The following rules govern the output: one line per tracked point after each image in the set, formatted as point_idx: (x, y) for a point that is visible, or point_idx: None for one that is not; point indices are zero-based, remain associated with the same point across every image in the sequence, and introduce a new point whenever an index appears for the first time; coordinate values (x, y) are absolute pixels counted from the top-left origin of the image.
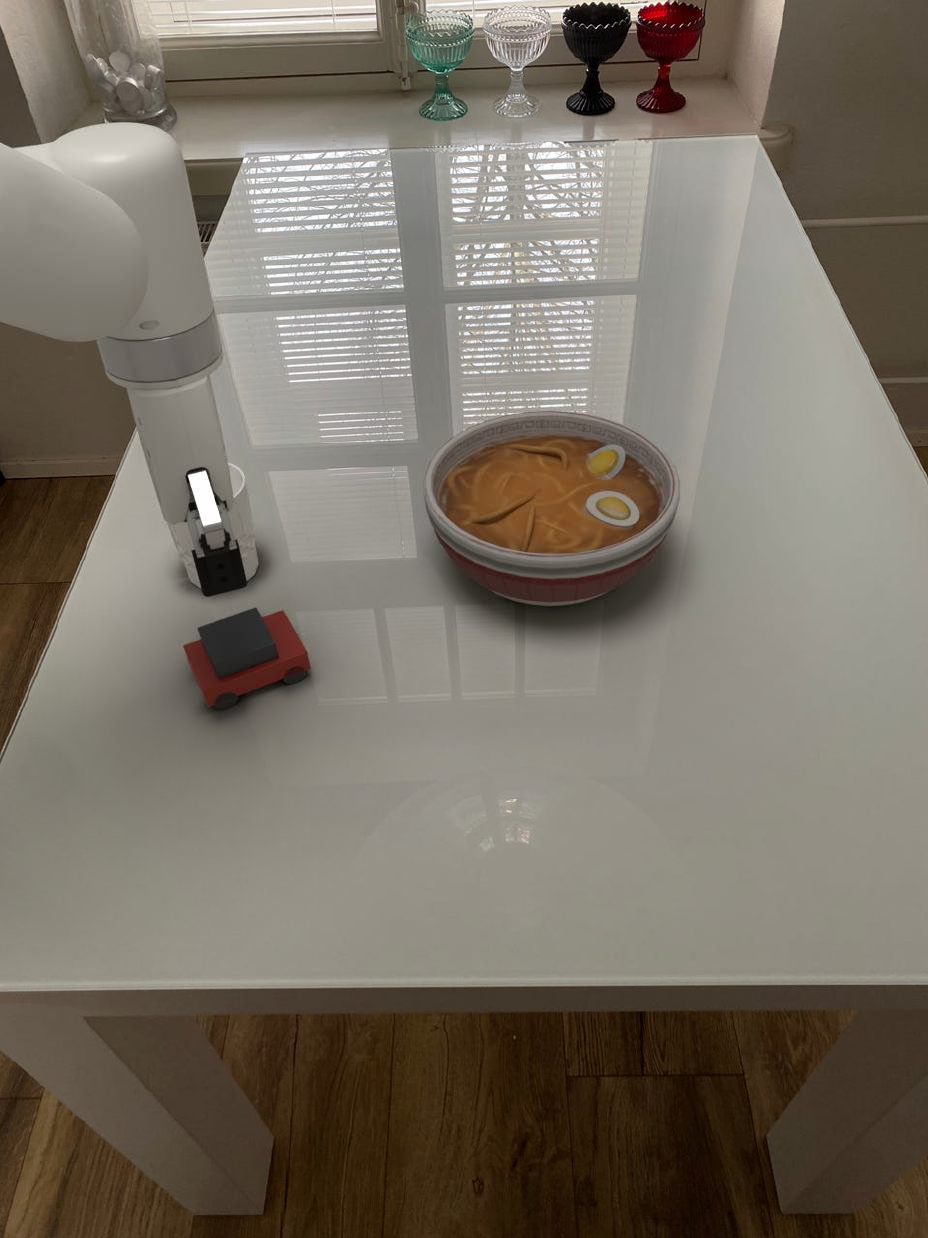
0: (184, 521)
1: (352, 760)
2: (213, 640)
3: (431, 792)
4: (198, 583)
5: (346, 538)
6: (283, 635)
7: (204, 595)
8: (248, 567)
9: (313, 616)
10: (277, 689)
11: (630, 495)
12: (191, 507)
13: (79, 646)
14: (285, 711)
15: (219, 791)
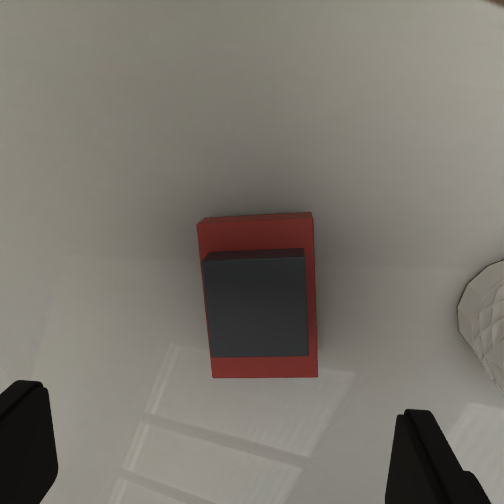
0: (397, 417)
1: (74, 347)
2: (259, 273)
3: None
4: (494, 268)
5: None
6: (260, 360)
7: (16, 381)
8: (475, 353)
9: (333, 389)
10: None
11: None
12: (408, 482)
13: (461, 42)
14: (176, 304)
15: (78, 194)
